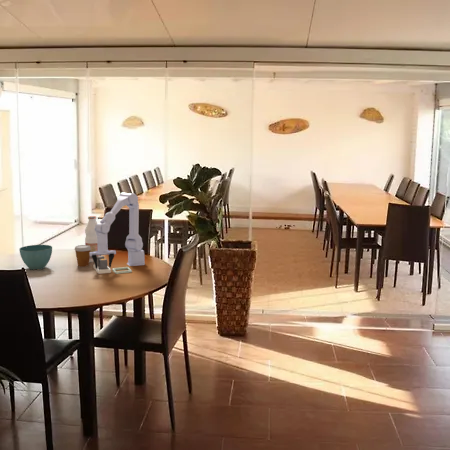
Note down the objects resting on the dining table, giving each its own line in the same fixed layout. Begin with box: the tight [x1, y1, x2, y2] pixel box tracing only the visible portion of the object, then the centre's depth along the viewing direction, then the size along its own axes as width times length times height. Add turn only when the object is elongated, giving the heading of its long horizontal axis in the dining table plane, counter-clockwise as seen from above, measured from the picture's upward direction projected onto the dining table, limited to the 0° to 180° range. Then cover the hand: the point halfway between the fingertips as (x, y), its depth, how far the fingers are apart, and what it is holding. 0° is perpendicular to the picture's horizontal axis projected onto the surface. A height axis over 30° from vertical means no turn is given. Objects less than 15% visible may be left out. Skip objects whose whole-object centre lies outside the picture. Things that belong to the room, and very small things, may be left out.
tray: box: [111, 266, 133, 275], centre depth 323 cm, size 9×9×2 cm
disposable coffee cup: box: [74, 244, 91, 268], centre depth 336 cm, size 10×10×12 cm
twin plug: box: [97, 255, 106, 267], centre depth 328 cm, size 4×4×7 cm
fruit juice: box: [84, 215, 102, 263], centre depth 348 cm, size 9×9×28 cm
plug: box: [99, 258, 109, 270], centre depth 321 cm, size 4×4×7 cm
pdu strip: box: [92, 263, 112, 275], centre depth 325 cm, size 7×16×2 cm, turn 23°
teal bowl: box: [19, 244, 53, 270], centre depth 330 cm, size 18×18×12 cm
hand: (103, 267), depth 321 cm, fingers open, 7 cm apart
